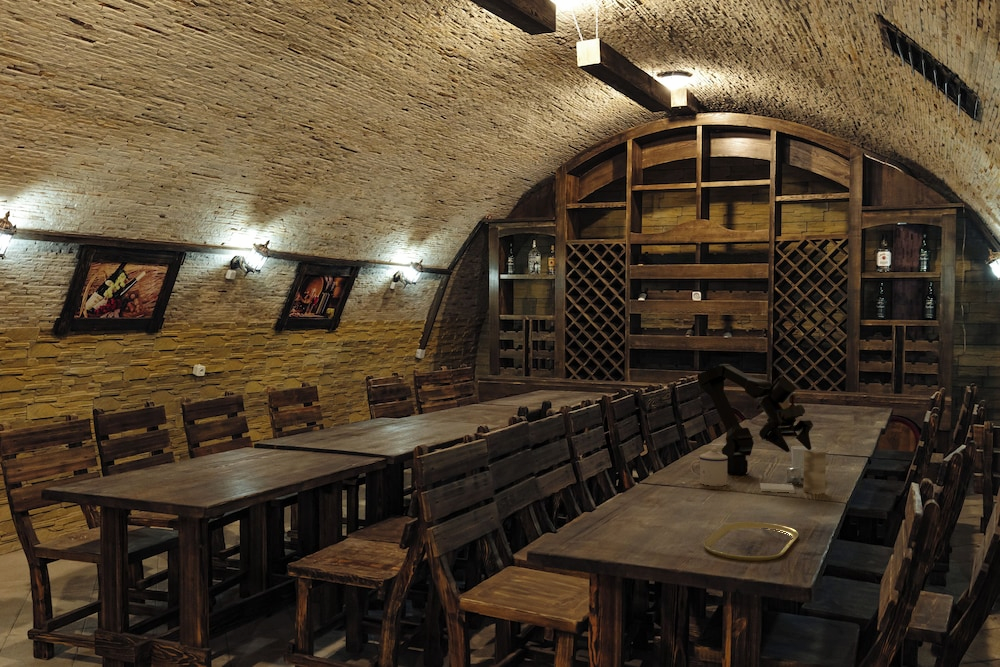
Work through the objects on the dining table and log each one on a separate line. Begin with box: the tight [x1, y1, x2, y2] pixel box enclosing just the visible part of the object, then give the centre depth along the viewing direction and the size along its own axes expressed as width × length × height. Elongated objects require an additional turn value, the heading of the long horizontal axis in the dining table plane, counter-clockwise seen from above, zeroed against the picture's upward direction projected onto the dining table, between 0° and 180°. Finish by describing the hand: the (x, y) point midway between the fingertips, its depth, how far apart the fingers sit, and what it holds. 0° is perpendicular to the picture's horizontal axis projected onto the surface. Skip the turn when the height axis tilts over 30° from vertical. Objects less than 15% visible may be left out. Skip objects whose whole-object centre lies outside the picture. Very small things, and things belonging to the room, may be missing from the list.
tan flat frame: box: [703, 521, 800, 562], centre depth 223 cm, size 19×35×2 cm, turn 152°
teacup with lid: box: [690, 447, 728, 487], centre depth 297 cm, size 12×9×12 cm
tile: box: [759, 482, 796, 494], centre depth 288 cm, size 10×9×1 cm
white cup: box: [790, 445, 817, 479], centre depth 310 cm, size 8×8×10 cm
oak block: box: [802, 449, 827, 495], centre depth 284 cm, size 4×4×13 cm
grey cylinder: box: [786, 466, 802, 485], centre depth 299 cm, size 4×4×5 cm
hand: (799, 450), depth 290 cm, fingers open, 9 cm apart
